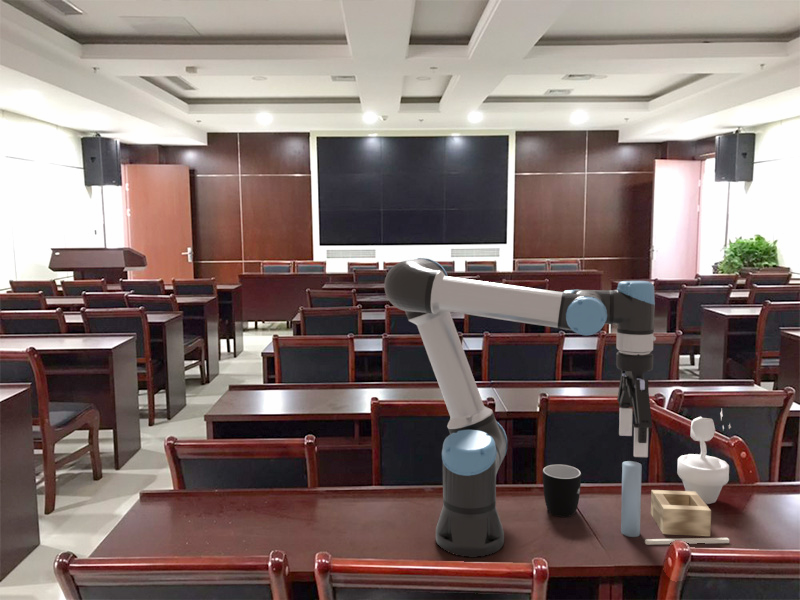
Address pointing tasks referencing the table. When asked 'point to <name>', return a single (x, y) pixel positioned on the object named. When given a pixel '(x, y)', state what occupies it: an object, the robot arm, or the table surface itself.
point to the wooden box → (680, 513)
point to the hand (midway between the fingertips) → (632, 445)
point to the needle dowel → (631, 498)
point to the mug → (561, 489)
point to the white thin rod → (687, 540)
